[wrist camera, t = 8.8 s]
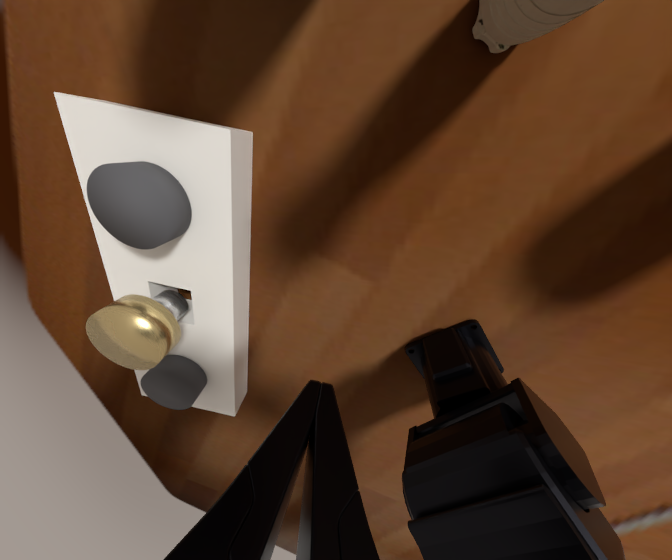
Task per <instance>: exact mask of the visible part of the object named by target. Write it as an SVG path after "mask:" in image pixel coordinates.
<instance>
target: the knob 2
mask: <svg viewBox="0 0 672 560" xmlns="http://www.w3.org/2000/svg"><path fill="white" fill-rule="evenodd" d="M206 384H207V376H206V374H205V372H204V371H203V369H202V368H201V367H200V366H199V364H196V363H195V362H194V361H192V360H190V359H188V358H186V357H183V356H180V355H166V356H165V357H164V358H163V359H162V360H161V361H160V362H159V363H158V364H157V365H156V366H155V367H154V368H151V369H150V370H149V371H148V372H147V373H146V374H145V375H144V376H143V377H142V378H141V387H142V389H143V391H144V392H145V394H146V395H147V396H148V397H149V398H150V399H152V400H153V401H154V402H156V403H158V404H160V405H162V406H164V407H167V408H170V409H175V410H184V409H188V408H190V407H191V406H192V405H193V404H194V402H195V401H196V399H197V398H198V396H199V395H200V393H201V392H202V390H203V389H204V387H205V386H206Z"/></svg>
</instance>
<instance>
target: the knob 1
mask: <svg viewBox="0 0 672 560" xmlns="http://www.w3.org/2000/svg"><path fill="white" fill-rule="evenodd" d="M87 197H88V201H89V204H90V207H91V209H92V211H93V213H94V215H95V217H96V218H97V220H98V221H99V223H100V224H101V225H102V226H103V227H104V228H105V229H106V230H107V232H109V233H110V234H111V235H112V236H113V237H115V238H116V239H117V240H119V241H120V242H122V243H124V244H126V245H128V246H131V247H134V248H137V249H153V248H156V247H158V246H160V245H163V244H165V243H167V242H169V241H171V240H173V239H175V238H177V237H179V236H181V235H183V234H184V233H185V232H186V231H187V229H188V228H189V226H190V223H191V218H192V210H191V205H190V201H189V198H188V196H187V194H186V192H185V190H184V188H183V187H182V185H181V184H180V183H179V180H177V179H176V178H175V177H174V176H173V175H172V174H171V173H169V172H168V171H167V170H165V169H164V168H162V167H160V166H158V165H156V164H154V163H150V162H145V161H137V162H123V163H108V164H103V165H100V166H98V167H97V168H95V169H94V170H93V171H92V172H91V174H90V176H89V178H88V181H87Z"/></svg>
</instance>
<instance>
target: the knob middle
mask: <svg viewBox="0 0 672 560" xmlns="http://www.w3.org/2000/svg"><path fill="white" fill-rule="evenodd" d="M187 311H188V303H187V301H186V299H185V298H184V297H183V296H182V295H181V294H180V293H178V292H176V291H173V290H164V291H162V292H161V293H159V294H158V295H156V296H155V297H154V298H152V299H151V298H148V297H146V296H142V295H135V294H131V295H125V296H123V297H121V298H119V299H117V300H116V301H114V302H113V303H111V304H109V305H108V306H106V307H104V308H103V309H101V310H99V311H98V312H96V313H95V314H93V315H91V316H90V317H89V318H88V320H87V322H86V332H87V335H88V337H89V339H90V341H91V342H92V344H93V345H94V346H95V347H96V349H97V350H98V351H99V352H100V353H102V354H103V355H104V356H105V357H107V358H108V359H110V360H111V361H113V362H115V363H117V364H119V365H121V366H123V367H126V368H130V369H134V370H148V369H151V368H154V367H155V366H156V365H157V364H158V363H159V362H160V361H161V360H162V359H163V358H164V357H165V356H166V355H167V354H168V353H169V352H170V351H171V350H172V349H173V348H174V347H175V346H176V345H177V344H178V342H179V341H180V338H181V330H180V326H179V324H178V322H177V321H178V320H179V319H180V318H181V317H182V316H183V315H184V314H185V313H186V312H187Z"/></svg>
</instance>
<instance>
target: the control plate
mask: <svg viewBox="0 0 672 560" xmlns="http://www.w3.org/2000/svg"><path fill="white" fill-rule="evenodd" d="M54 95H55V98H56V102H57V105H58V109H59V112H60V115H61V119H62V122H63V126H64V129H65V133H66V136H67V140H68V143H69V146H70V150H71V153H72V157H73V160H74V164H75V167H76V171H77V174H78V177H79V181H80V184H81V188H82V191H83V195H84V198H85V202H86V205H87V208H88V212H89V215H90V219H91V222H92V226H93V229H94V233H95V236H96V239H97V243H98V246H99V250H100V253H101V257H102V260H103V264H104V267H105V270H106V274H107V277H108V281H109V284H110V288H111V291H112V295H113V298H114V301H116V300H117V299H119V298H121V297H123V296H125V295H131V294H135V295H142V296H146V297H148V298H151V299H152V298H154V297H155V296H156V295H158V294H159V293H161V292H162V291H164V290H173V291H176V292H178V288H181V289H185V290H190V291H191V296H192V300H189V299H186V301H187V303H188V311H187V312H186V313H185V314H184V315H183V316H182V317H181V318H180V319H179V320H178V321H177V322H178V324H179V326H180V330H181V338H180V341H179V342H178V344H177V345H176V346H175V347H174V348H173V349H172V350H171V351H170V352H169V353H168V354H167V355H180V356H183V357H186V358H188V359H190V360H192V361H194V362H195V363H196V364H199V366H200V367H201V368H202V369H203V371H204V372H205V374H206V376H207V384H206V386H205V387H204V389H203V390H202V392H201V393H200V395H199V396H198V398H197V399H196V401H195V402H194V404H193V405H192V406H191V407H195V408H200V409H204V410H208V411H213V412H217V413H221V414H226V415H230V416H234V417H235V415H236V413H237V411H238V409H239V407H240V405H241V403H242V401H243V399H244V397H245V395H246V393H247V378H248V332H249V285H250V239H251V193H252V147H253V132H250V131H245V130H241V129H236V128H231V127H227V126H222V125H217V124H212V123H208V122H203V121H198V120H194V119H189V118H184V117H180V116H175V115H170V114H165V113H161V112H156V111H151V110H147V109H142V108H137V107H133V106H128V105H123V104H119V103H114V102H109V101H104V100H99V99H93V98H87V97H81V96H75V95H69V94H64V93H58V92H54ZM137 161H145V162H150V163H154V164H156V165H158V166H160V167H162V168H164V169H165V170H167V171H168V172H169V173H171V174H172V175H173V176H174V177H175V178H176V179H177V180H179V183H180V184H181V185H182V187H183V188H184V190H185V192H186V194H187V196H188V198H189V201H190V205H191V210H192V218H191V223H190V226H189V228H188V229H187V231H186V232H185V233H184V234H183V235H181V236H179V237H177V238H175V239H173V240H171V241H169V242H167V243H165V244H163V245H160V246H158V247H156V248H153V249H137V248H134V247H131V246H128V245H126V244H124V243H122V242H120V241H119V240H117V239H116V238H115V237H113V236H112V235H111V234H110V233H109V232H107V230H106V229H105V228H104V227H103V226H102V225H101V224H100V223H99V221H98V220H97V218H96V217H95V215H94V213H93V211H92V209H91V207H90V204H89V201H88V197H87V181H88V178H89V176H90V174H91V172H92V171H93V170H94V169H95V168H97V167H98V166H100V165H103V164H108V163H123V162H137ZM149 370H150V369H148V370H135V374H136V377H137V381H138V384H139V388H140V391H141V394H142V395H143V396H147V395H146V394H145V392H144V391H143V389H142V387H141V378H142V377H143V376H144V375H145V374H146V373H147V372H148V371H149Z"/></svg>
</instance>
